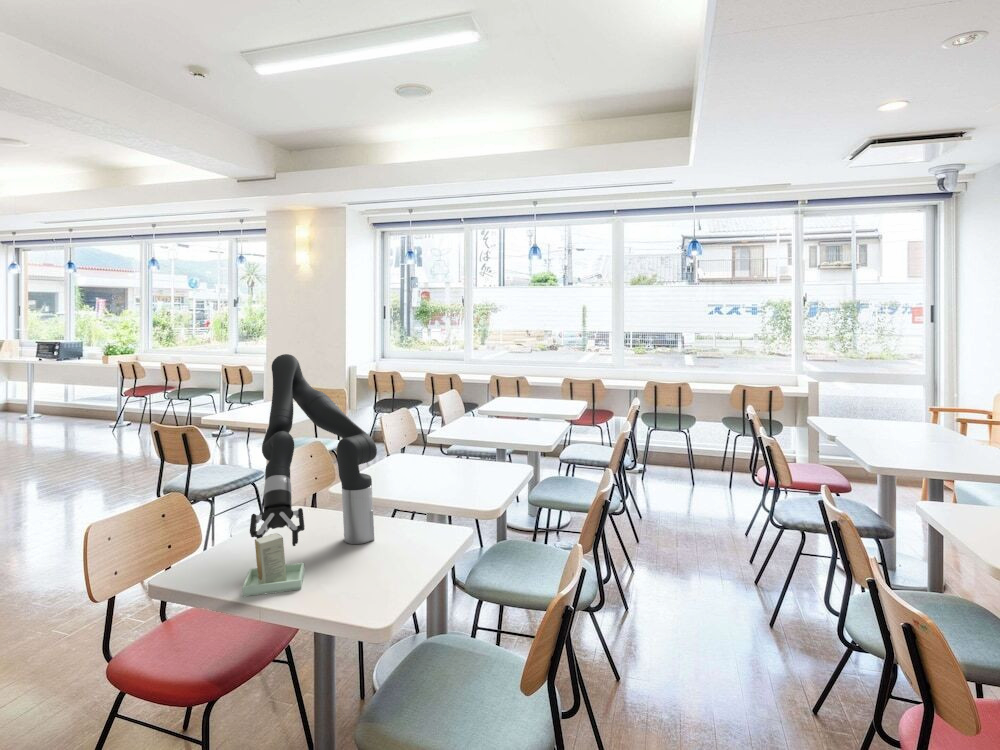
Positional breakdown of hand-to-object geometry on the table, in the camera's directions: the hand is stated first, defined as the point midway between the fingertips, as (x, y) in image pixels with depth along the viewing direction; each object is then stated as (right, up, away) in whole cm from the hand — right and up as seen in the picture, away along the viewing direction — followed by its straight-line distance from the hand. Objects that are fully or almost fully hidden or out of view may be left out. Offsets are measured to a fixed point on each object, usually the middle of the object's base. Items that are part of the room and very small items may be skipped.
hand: (277, 547), depth 157 cm
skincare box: (+1, -8, -6) cm, 10 cm away
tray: (+2, -8, -6) cm, 10 cm away
